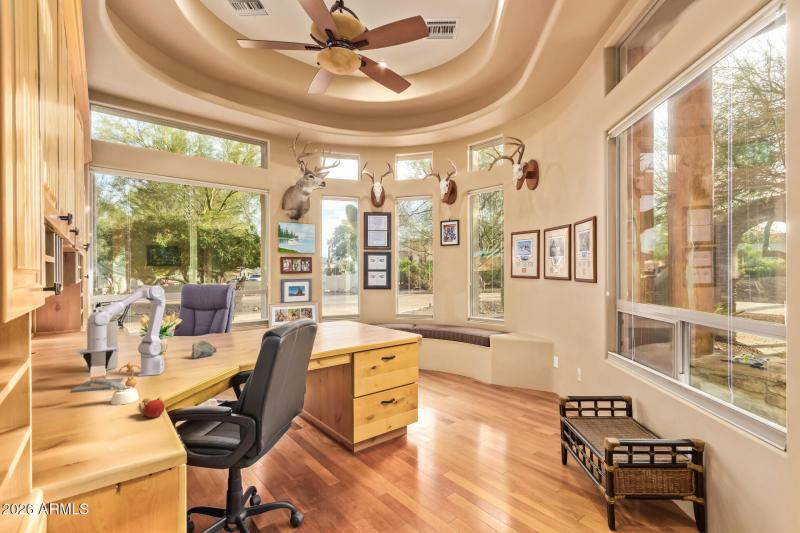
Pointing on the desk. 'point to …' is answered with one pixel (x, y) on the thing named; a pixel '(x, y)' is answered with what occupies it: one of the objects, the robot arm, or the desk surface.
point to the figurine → (131, 381)
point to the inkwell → (123, 393)
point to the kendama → (152, 407)
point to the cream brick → (97, 370)
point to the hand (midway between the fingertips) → (98, 369)
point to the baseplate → (92, 388)
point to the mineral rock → (202, 350)
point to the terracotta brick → (97, 378)
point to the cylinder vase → (111, 342)
